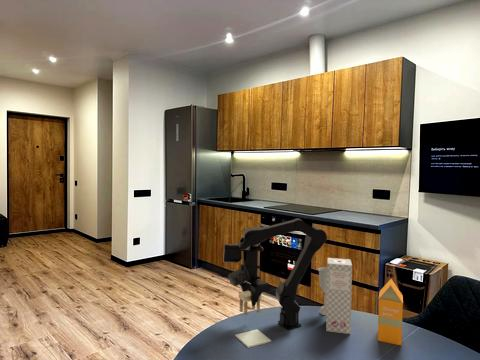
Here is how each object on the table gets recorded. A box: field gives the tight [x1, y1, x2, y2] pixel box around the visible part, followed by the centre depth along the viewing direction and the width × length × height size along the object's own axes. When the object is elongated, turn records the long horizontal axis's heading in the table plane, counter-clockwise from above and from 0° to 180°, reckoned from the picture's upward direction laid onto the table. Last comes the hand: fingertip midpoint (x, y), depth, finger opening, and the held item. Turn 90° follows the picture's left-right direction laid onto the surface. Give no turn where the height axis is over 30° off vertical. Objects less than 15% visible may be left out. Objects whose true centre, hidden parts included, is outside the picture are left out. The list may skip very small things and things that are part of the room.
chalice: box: [317, 266, 327, 316], centre depth 139 cm, size 7×7×18 cm
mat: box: [234, 328, 272, 349], centre depth 117 cm, size 9×9×1 cm
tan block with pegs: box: [238, 291, 262, 316], centre depth 127 cm, size 7×5×7 cm
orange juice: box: [377, 278, 404, 346], centre depth 120 cm, size 8×9×20 cm
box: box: [325, 257, 353, 335], centre depth 126 cm, size 8×8×25 cm
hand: (249, 303), depth 127 cm, fingers closed on tan block with pegs, 5 cm apart
